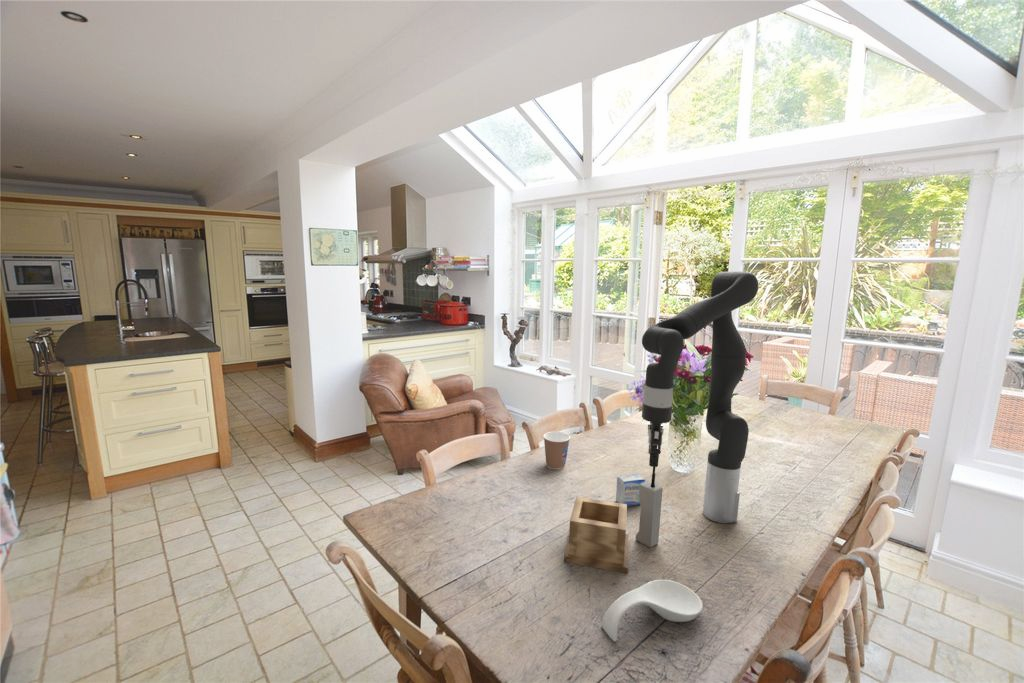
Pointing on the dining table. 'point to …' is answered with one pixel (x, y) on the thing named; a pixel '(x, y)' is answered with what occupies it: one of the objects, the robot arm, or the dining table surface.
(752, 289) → the robot arm
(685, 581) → the dining table surface
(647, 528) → the vintage mobile phone
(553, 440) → the coffee cup
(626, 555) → the socket block
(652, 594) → the spoon rest
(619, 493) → the medicine box
